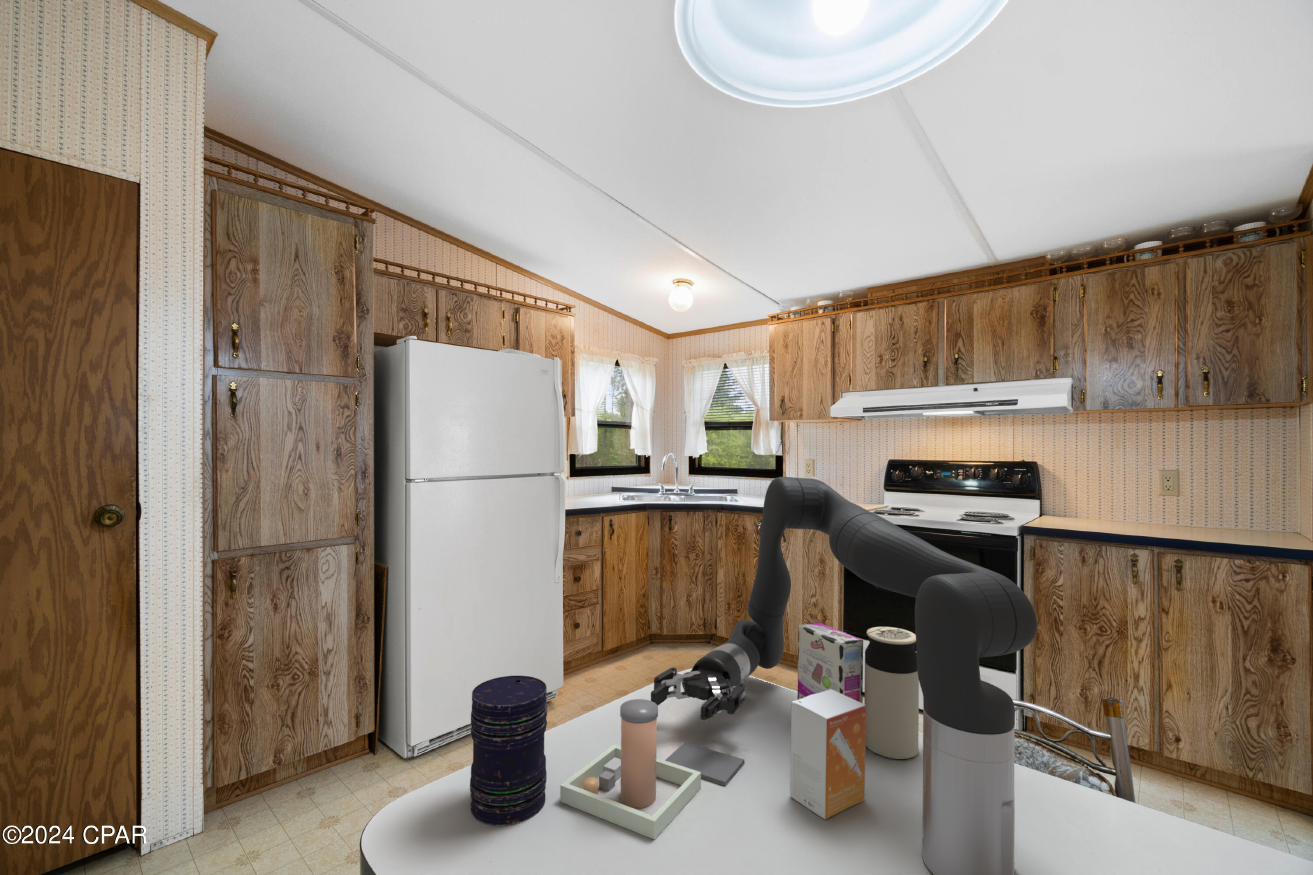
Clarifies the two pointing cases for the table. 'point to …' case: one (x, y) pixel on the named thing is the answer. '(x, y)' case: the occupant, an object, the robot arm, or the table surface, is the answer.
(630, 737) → the canister
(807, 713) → the small box
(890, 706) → the travel mug
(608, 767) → the parts tub
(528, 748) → the dark blue barrel
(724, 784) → the mat
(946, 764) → the robot arm
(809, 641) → the candy bar box
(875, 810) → the table surface
